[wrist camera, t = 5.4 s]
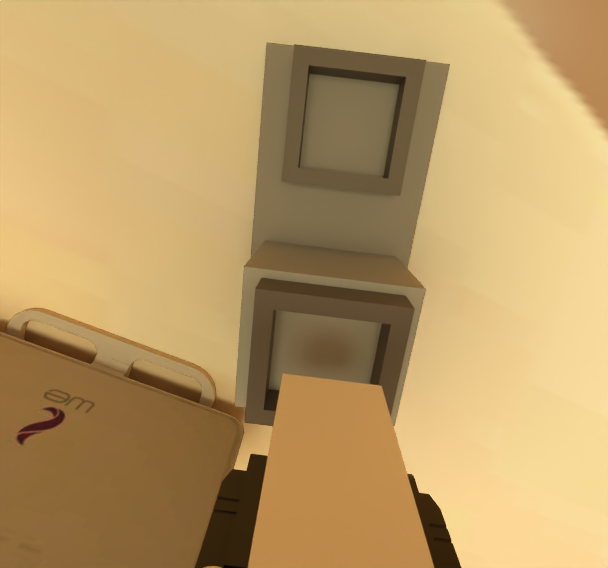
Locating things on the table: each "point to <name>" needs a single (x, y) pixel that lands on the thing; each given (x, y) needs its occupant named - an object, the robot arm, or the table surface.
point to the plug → (336, 483)
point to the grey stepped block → (335, 221)
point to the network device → (104, 455)
